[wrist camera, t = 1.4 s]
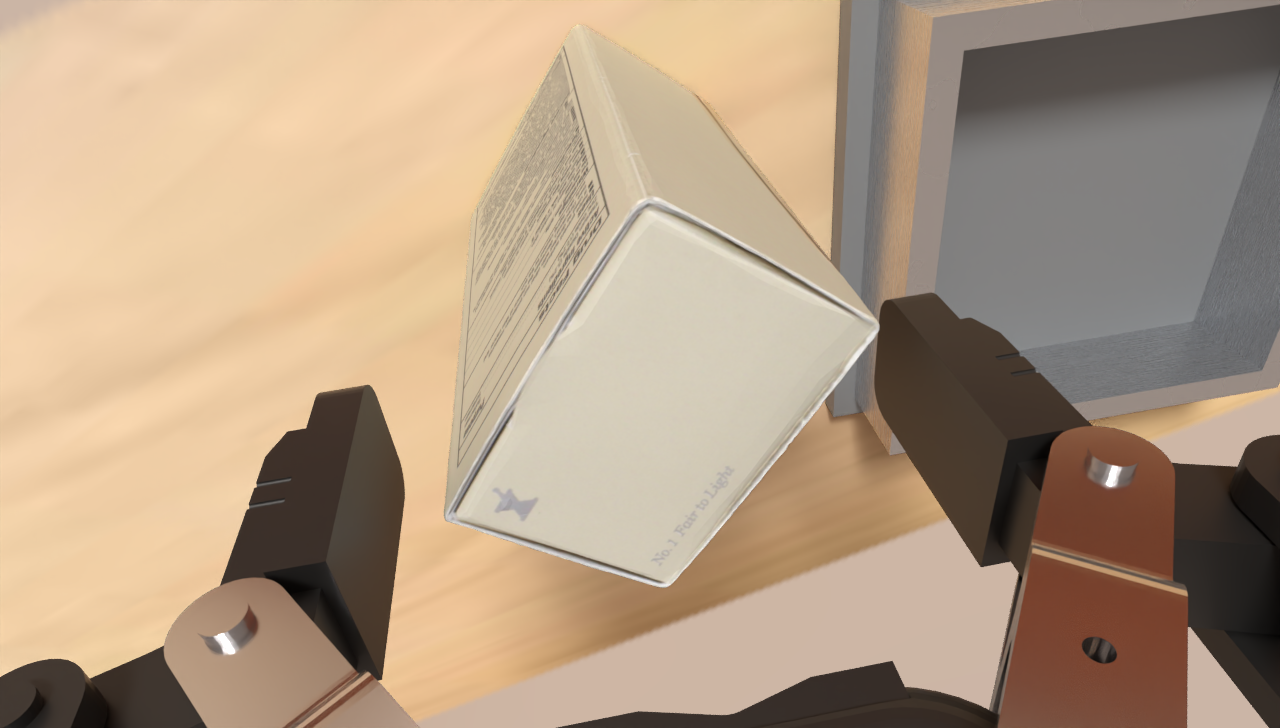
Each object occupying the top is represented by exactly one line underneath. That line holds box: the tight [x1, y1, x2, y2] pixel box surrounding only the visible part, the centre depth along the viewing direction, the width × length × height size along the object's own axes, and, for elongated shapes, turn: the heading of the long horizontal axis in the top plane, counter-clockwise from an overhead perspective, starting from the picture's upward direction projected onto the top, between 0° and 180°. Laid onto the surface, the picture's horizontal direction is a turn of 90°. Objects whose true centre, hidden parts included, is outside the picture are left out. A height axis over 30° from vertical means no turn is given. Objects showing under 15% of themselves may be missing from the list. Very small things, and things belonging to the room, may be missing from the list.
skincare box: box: [444, 24, 880, 588], centre depth 17 cm, size 6×4×12 cm
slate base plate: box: [826, 0, 1280, 417], centre depth 24 cm, size 14×14×1 cm
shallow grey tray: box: [854, 0, 1280, 455], centre depth 23 cm, size 13×13×3 cm
